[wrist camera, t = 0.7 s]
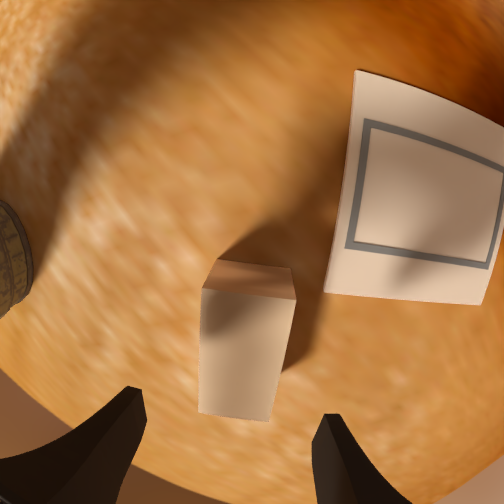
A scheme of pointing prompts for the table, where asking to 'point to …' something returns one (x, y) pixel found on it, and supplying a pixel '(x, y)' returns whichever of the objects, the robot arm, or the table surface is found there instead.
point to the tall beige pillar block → (243, 338)
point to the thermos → (13, 260)
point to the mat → (417, 197)
